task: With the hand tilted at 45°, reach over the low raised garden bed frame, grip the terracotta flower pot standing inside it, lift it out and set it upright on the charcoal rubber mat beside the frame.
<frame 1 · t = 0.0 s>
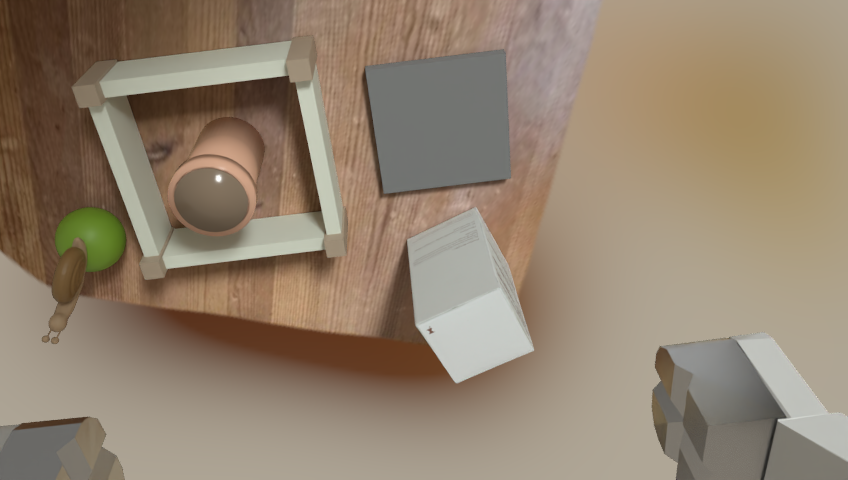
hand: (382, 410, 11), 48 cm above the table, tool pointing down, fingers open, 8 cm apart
terracotta pot: (231, 147, 60), resting in raised garden bed frame
snail figurine: (101, 226, 63), on the table
supplement box: (458, 249, 67), on the table
rubber mat: (440, 122, 60), on the table
raised garden bed frame: (231, 147, 60), on the table
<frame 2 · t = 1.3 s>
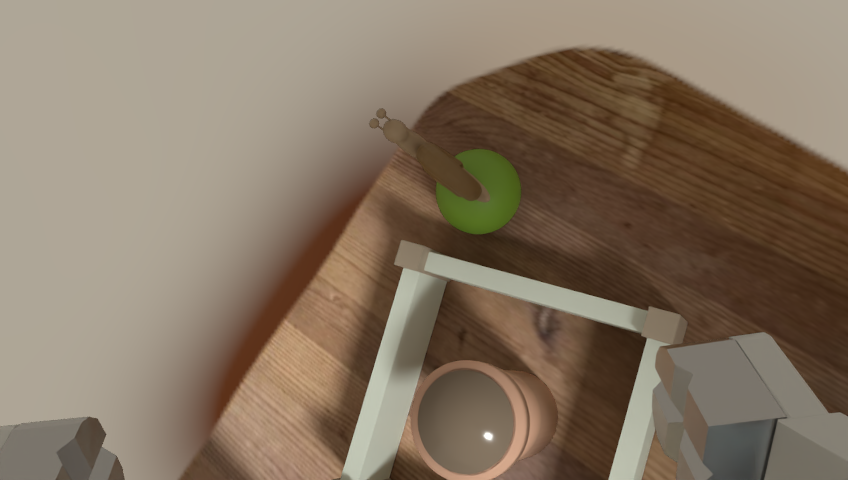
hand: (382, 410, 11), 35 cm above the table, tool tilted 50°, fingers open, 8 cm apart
terracotta pot: (515, 414, 45), resting in raised garden bed frame
snail figurine: (487, 197, 49), on the table
raised garden bed frame: (515, 414, 45), on the table
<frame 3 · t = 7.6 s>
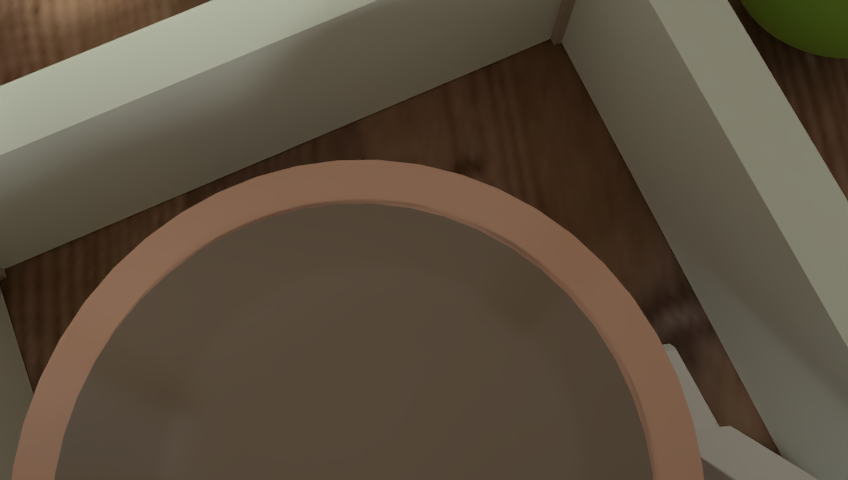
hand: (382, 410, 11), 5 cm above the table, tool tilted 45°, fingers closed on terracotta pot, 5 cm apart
terracotta pot: (405, 437, 15), resting in raised garden bed frame, touching gripper
raised garden bed frame: (405, 438, 15), on the table
when the fingers open (7 cm above the table, at t = 13.6 s): terracotta pot drops 1 cm, resting on rubber mat.
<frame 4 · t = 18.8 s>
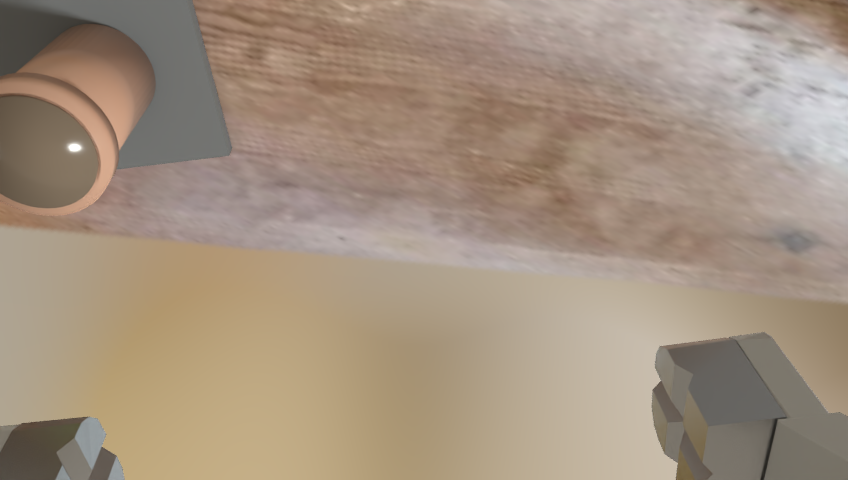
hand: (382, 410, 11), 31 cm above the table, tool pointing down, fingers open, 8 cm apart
terracotta pot: (102, 75, 38), point 1 cm above the table, touching rubber mat
rubber mat: (105, 67, 39), on the table
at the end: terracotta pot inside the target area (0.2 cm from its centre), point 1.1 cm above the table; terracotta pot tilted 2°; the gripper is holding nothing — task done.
